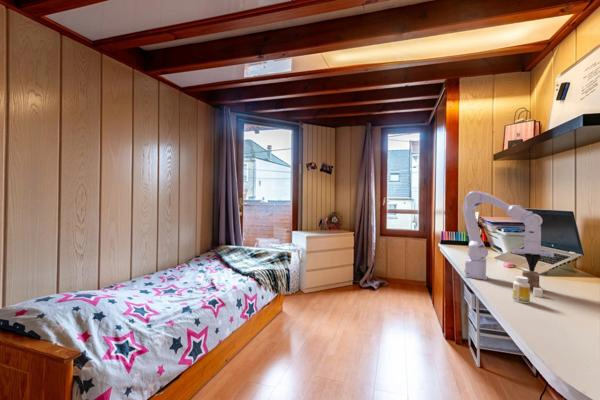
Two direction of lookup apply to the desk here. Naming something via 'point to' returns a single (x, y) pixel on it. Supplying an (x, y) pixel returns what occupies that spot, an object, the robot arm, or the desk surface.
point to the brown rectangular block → (532, 278)
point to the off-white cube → (537, 292)
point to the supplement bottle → (521, 290)
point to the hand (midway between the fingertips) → (531, 270)
